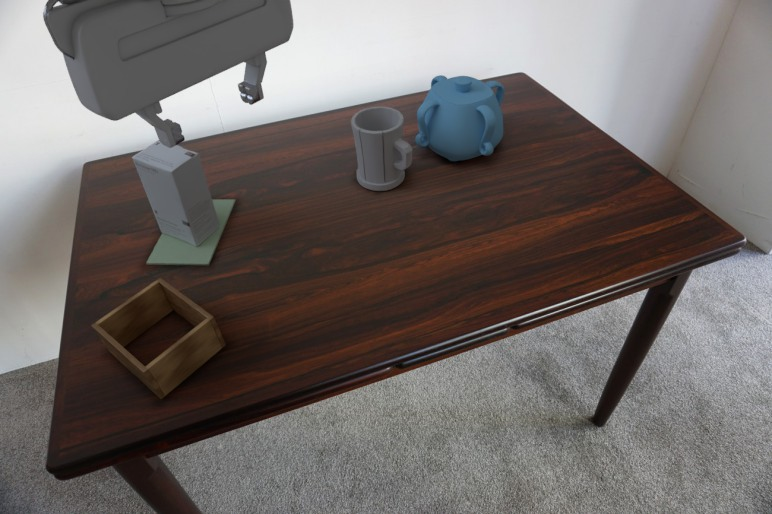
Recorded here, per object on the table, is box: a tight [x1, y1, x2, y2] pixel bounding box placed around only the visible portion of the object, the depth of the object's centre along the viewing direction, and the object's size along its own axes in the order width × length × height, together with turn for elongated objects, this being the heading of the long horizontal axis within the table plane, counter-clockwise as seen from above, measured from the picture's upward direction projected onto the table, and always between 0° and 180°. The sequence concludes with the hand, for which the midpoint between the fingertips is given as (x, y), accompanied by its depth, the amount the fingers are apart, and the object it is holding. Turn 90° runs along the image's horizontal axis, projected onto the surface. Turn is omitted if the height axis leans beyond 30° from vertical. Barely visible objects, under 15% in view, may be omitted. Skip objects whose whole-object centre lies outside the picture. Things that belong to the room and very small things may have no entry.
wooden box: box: [91, 277, 226, 400], centre depth 68 cm, size 10×12×6 cm
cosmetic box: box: [131, 139, 220, 246], centre depth 81 cm, size 8×6×15 cm
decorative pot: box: [414, 74, 505, 162], centre depth 98 cm, size 16×16×14 cm
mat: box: [145, 198, 237, 267], centre depth 87 cm, size 16×10×1 cm, turn 177°
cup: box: [350, 105, 413, 192], centre depth 91 cm, size 10×9×12 cm
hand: (215, 120), depth 49 cm, fingers open, 8 cm apart
